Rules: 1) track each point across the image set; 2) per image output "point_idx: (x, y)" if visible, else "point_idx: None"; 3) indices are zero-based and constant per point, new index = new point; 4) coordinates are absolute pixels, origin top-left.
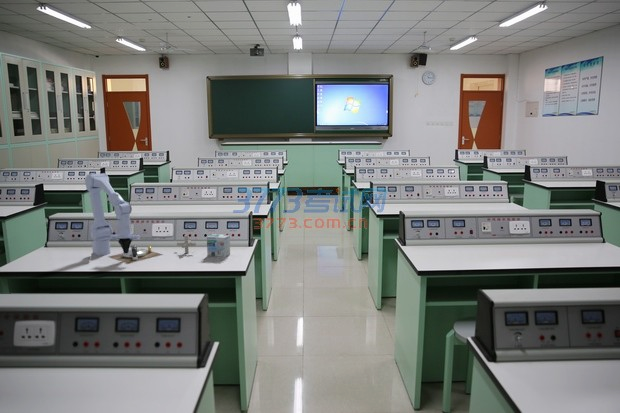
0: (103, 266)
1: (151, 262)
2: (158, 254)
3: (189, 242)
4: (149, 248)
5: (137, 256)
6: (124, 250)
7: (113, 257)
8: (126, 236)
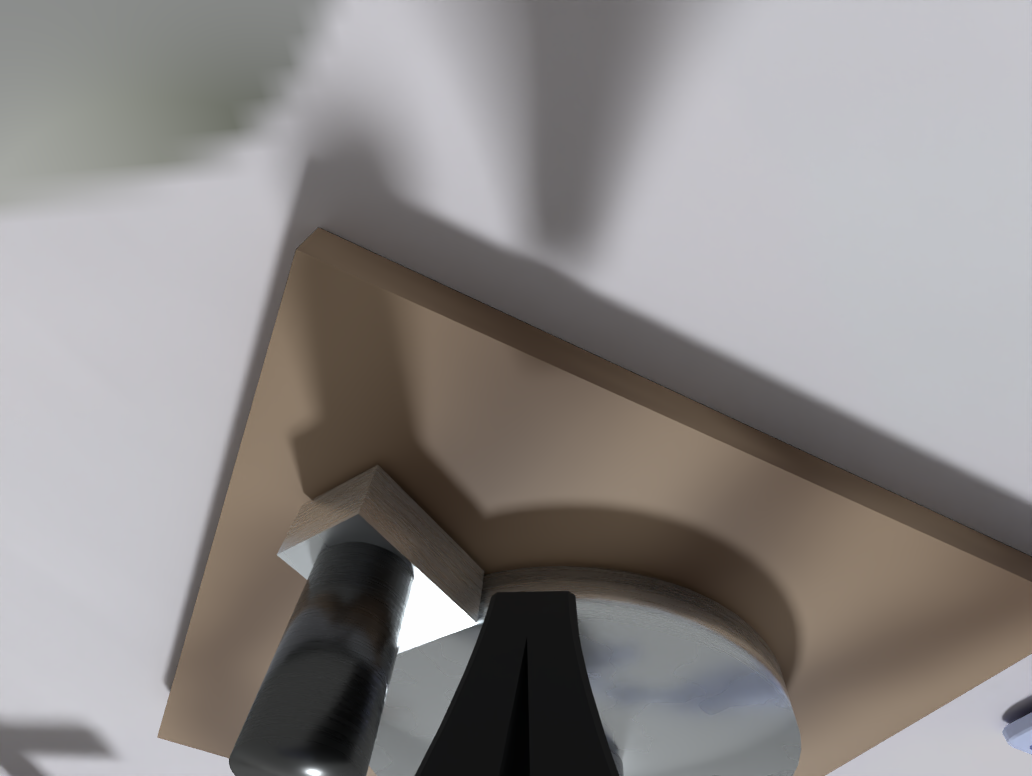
0: (1024, 42)
1: (85, 489)
2: (227, 736)
3: None
4: None
5: (303, 575)
6: (532, 671)
7: (940, 585)
8: None
